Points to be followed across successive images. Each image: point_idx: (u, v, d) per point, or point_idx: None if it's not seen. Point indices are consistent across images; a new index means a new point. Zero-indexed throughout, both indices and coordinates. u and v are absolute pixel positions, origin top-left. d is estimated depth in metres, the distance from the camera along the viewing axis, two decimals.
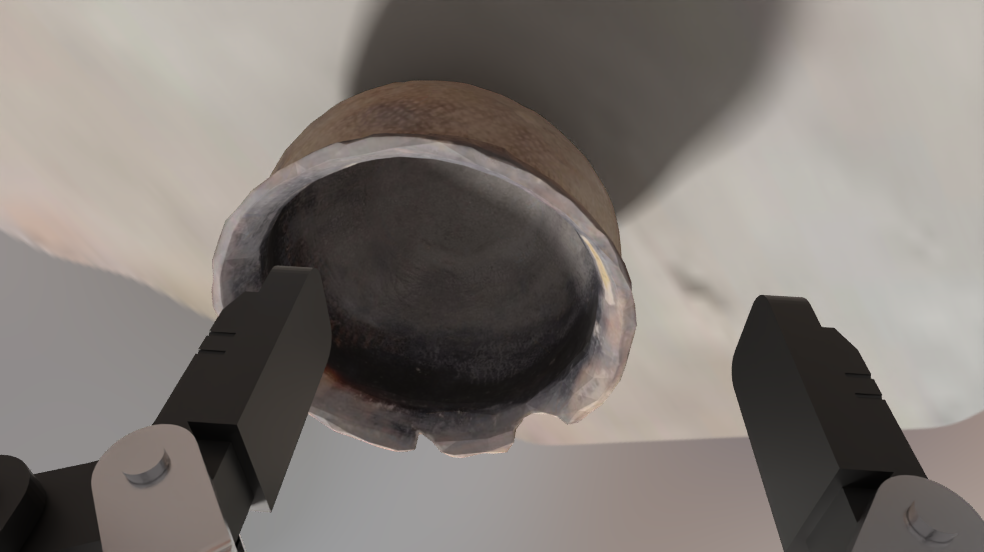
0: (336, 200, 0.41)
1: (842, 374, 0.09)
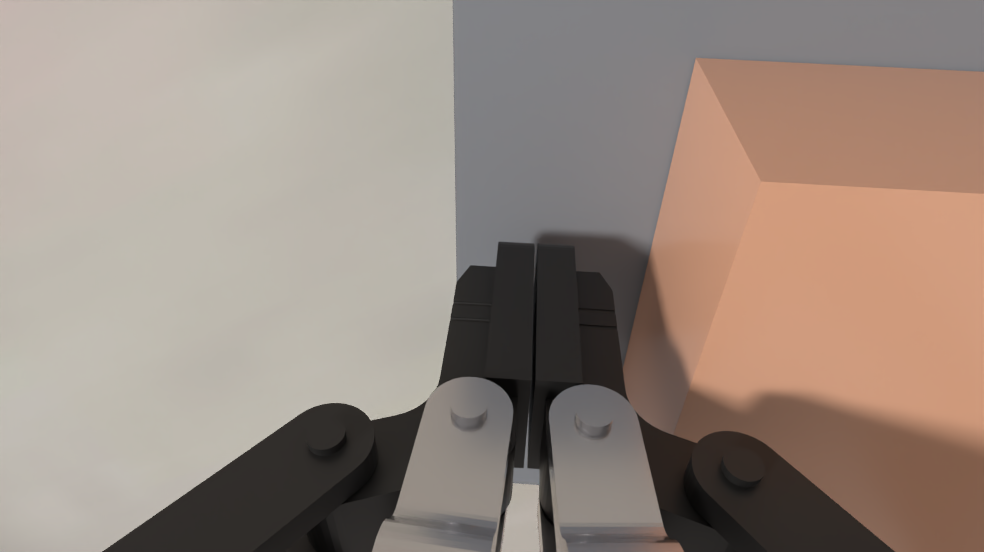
0: None
1: (575, 306, 0.10)
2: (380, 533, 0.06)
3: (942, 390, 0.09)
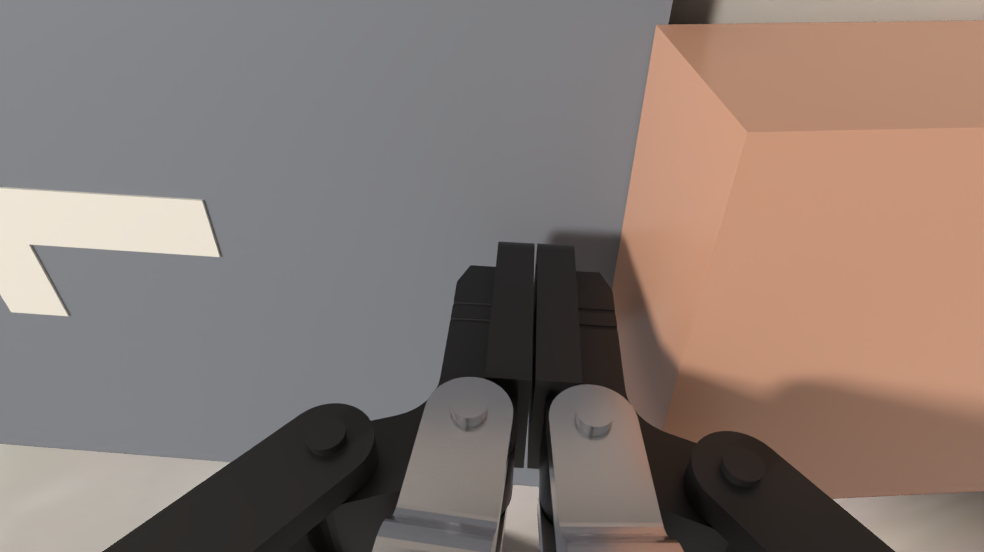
0: None
1: (575, 306, 0.10)
2: (380, 533, 0.06)
3: (923, 329, 0.09)
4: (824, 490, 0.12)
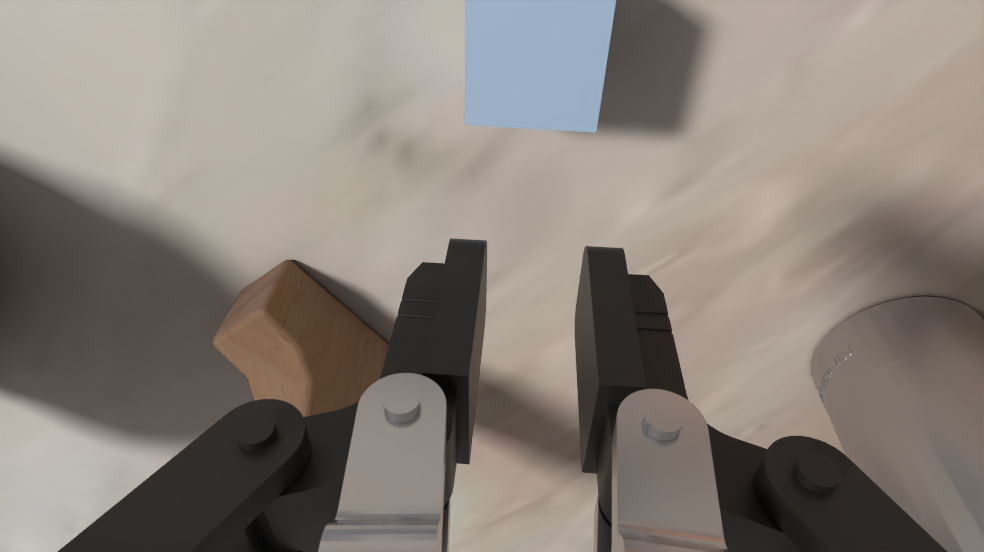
0: None
1: (631, 310, 0.10)
2: (323, 538, 0.06)
3: None
4: None
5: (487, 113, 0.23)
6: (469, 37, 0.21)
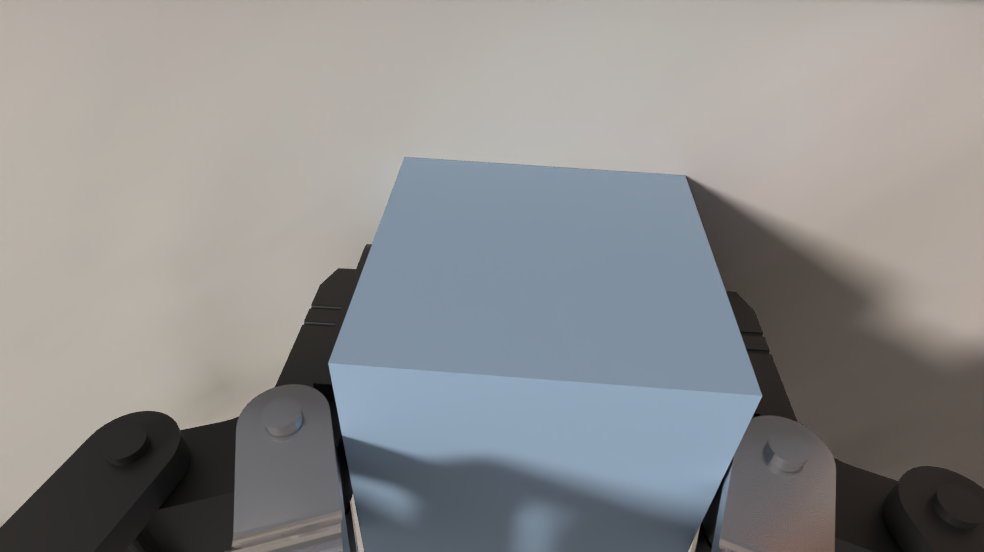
0: None
1: None
2: None
3: None
4: None
5: None
6: (355, 452, 0.08)
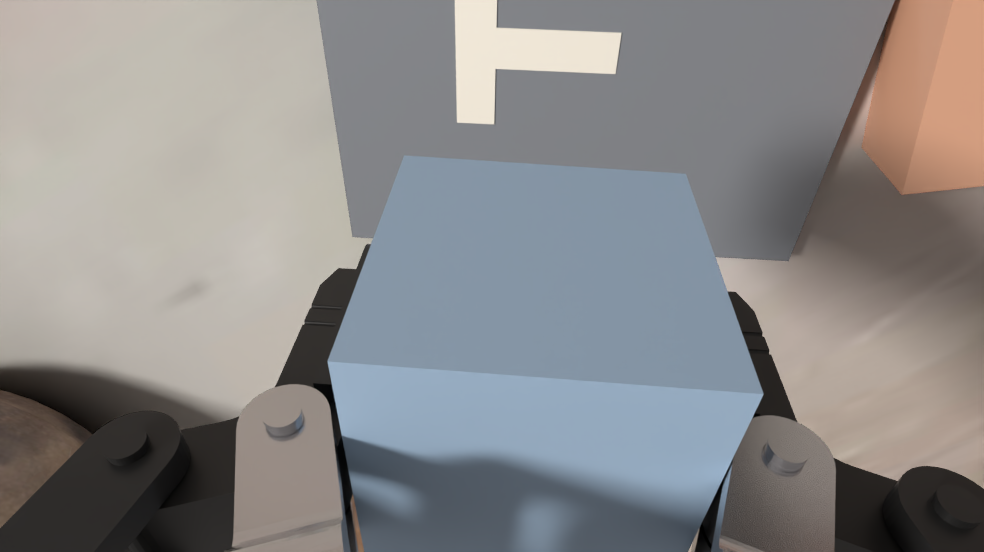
0: None
1: None
2: None
3: None
4: None
5: None
6: (355, 451, 0.08)
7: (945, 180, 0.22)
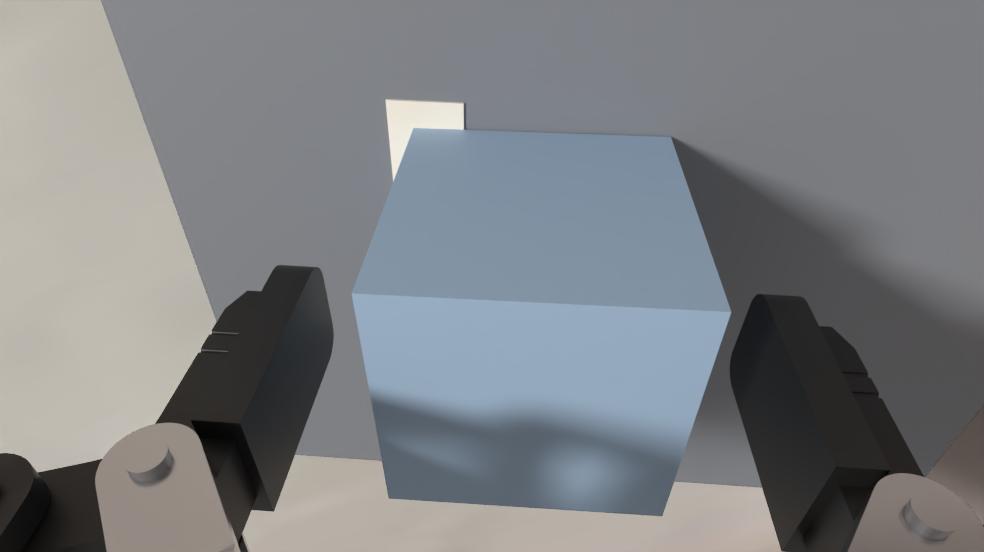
0: None
1: (839, 373, 0.09)
2: None
3: None
4: None
5: (433, 485, 0.11)
6: (376, 380, 0.09)
7: None
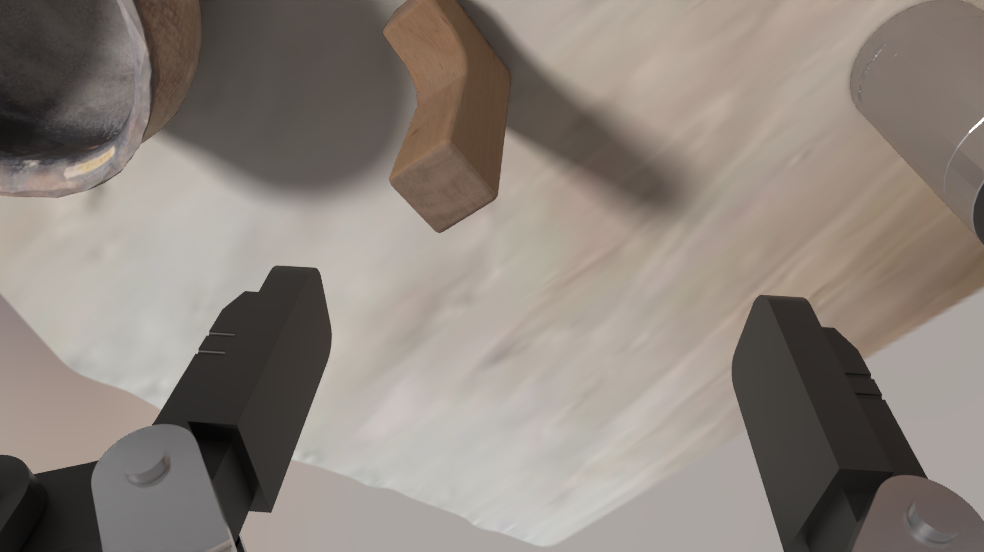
0: None
1: (842, 374, 0.09)
2: None
3: None
4: None
5: None
6: None
7: None
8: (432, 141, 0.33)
